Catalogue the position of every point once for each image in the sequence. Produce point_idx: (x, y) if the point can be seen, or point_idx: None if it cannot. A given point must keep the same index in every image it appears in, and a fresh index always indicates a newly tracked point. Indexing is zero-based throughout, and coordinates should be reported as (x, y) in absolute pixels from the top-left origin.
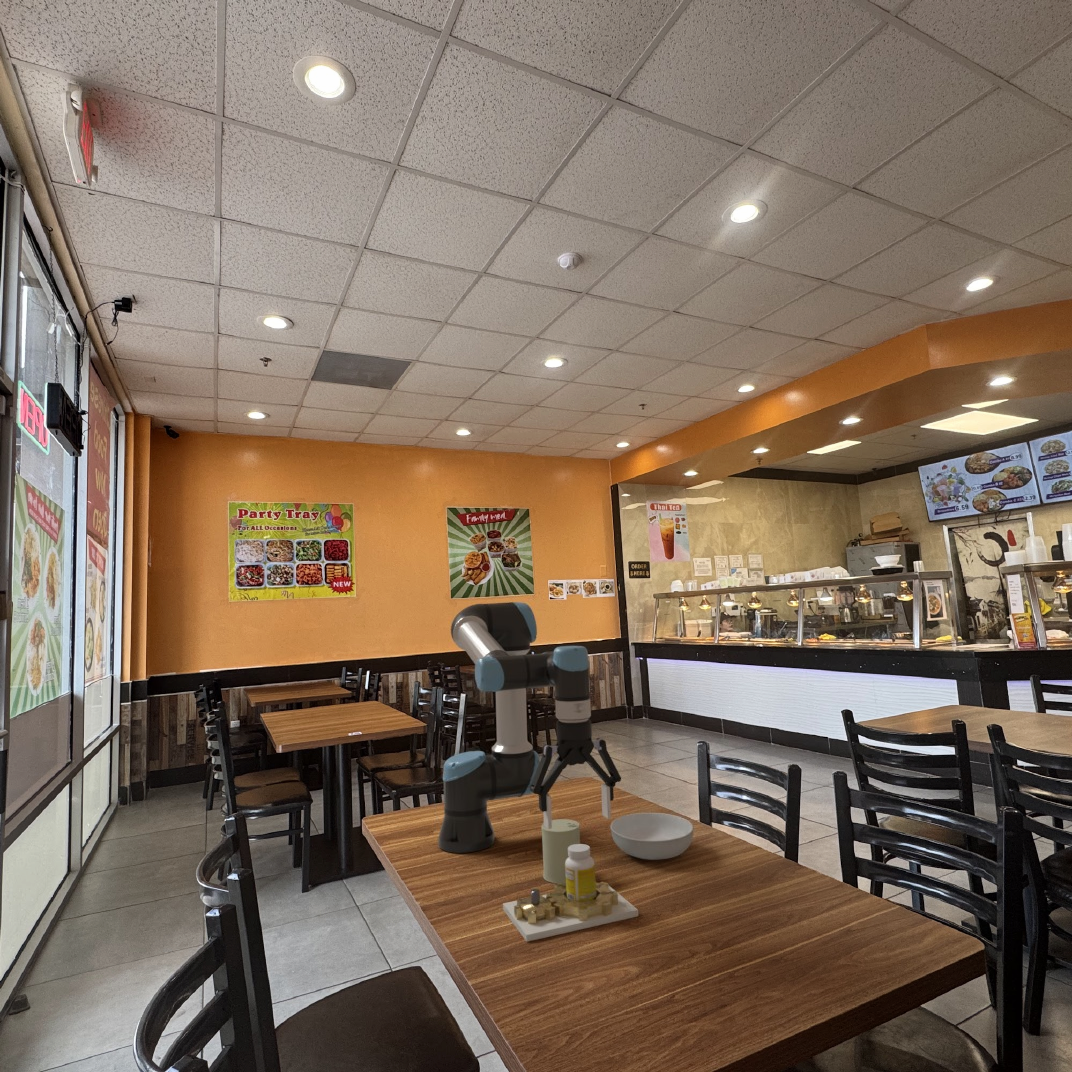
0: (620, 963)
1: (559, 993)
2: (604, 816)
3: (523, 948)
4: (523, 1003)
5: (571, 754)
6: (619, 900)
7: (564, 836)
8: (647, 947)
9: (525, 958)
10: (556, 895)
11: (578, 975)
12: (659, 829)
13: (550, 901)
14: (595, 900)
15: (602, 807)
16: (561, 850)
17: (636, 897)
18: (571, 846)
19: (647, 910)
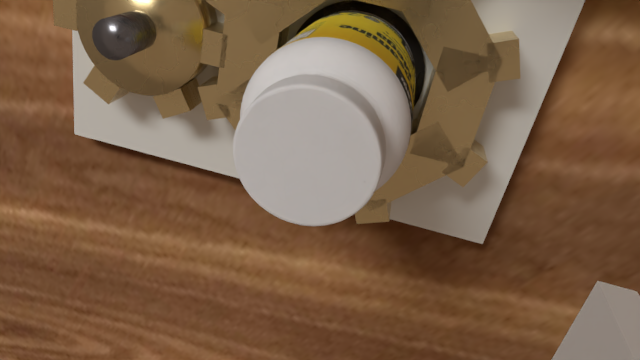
0: (253, 354)
1: (80, 342)
2: (575, 319)
3: (67, 150)
4: (4, 320)
5: None
6: (492, 149)
7: None
8: (357, 354)
9: (56, 195)
10: (247, 24)
11: (143, 325)
12: None
13: (198, 57)
14: None
15: (621, 352)
16: None
17: (612, 122)
18: (278, 108)
19: (542, 224)
